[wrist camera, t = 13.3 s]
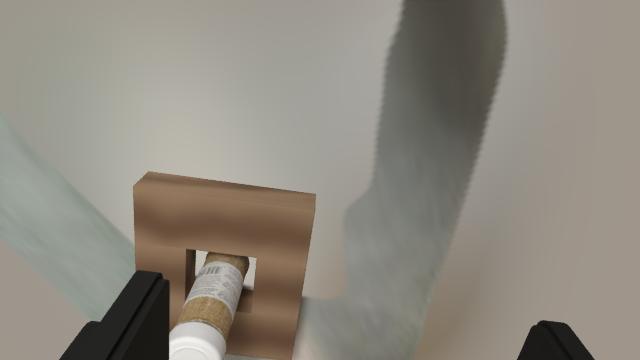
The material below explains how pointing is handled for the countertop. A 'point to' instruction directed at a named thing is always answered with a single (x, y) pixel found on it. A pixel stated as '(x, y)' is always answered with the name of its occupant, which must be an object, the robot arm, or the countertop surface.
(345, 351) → the countertop surface
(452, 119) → the countertop surface
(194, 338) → the sprinkles bottle
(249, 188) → the walnut hole board
